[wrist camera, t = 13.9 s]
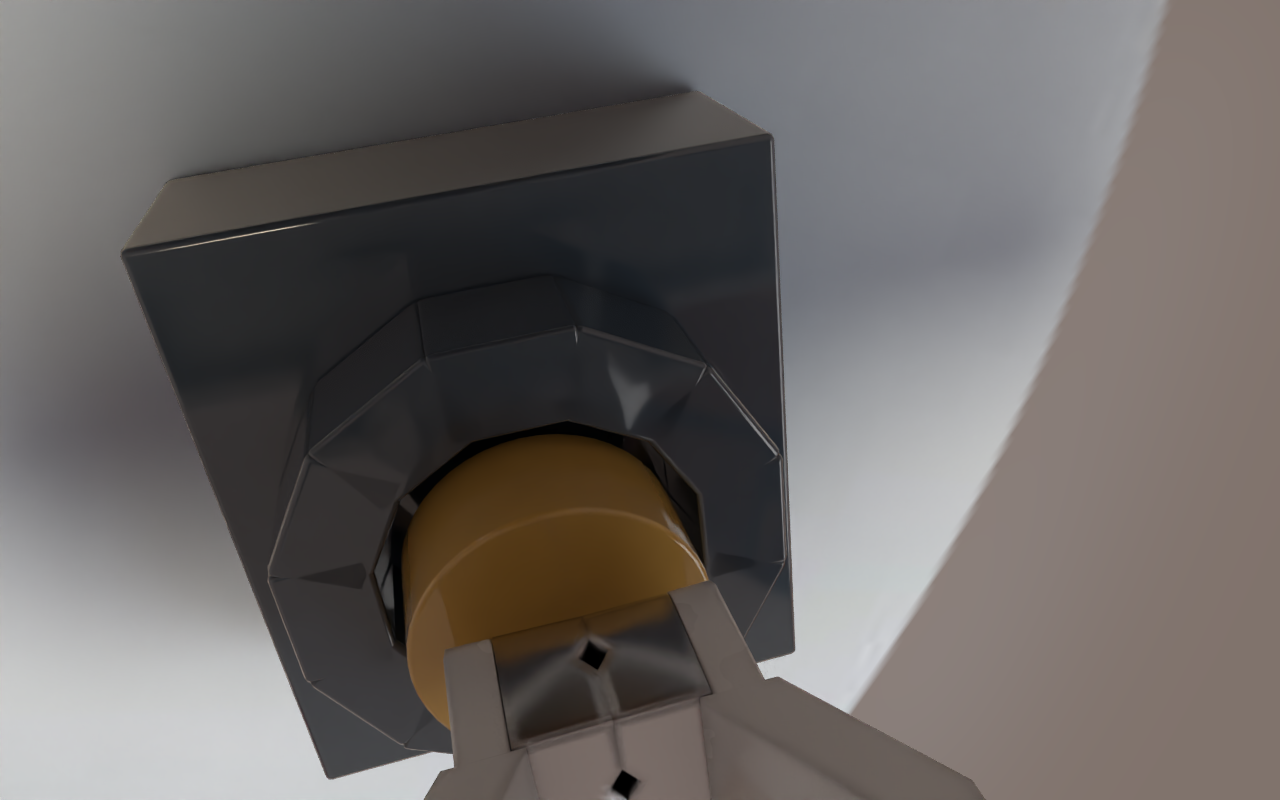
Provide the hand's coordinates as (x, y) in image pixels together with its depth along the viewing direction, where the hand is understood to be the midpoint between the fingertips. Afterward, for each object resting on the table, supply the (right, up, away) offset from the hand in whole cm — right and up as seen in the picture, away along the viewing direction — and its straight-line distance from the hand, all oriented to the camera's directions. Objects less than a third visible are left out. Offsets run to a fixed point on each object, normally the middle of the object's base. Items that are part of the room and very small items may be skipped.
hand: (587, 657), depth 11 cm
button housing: (-2, +3, +6) cm, 7 cm away
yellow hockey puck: (-1, +1, +2) cm, 2 cm away
